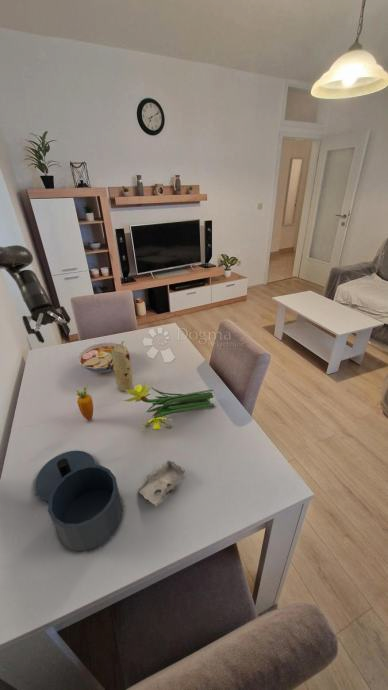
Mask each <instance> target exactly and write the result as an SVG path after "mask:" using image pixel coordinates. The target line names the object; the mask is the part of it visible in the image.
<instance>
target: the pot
mask: <svg viewBox="0 0 388 690" xmlns="http://www.w3.org/2000/svg"><path fill="white" fill-rule="evenodd" d="M47 502H48V501H47ZM47 512H48V515H49V517H50V519H51V521H52V523H53V525H54V528H55V530H56V533H57V534H58V536H59V539H60V540H61V542H62V544H63V545H64V546H65V547H66V548H68V549H70V550H72V551H74V552H75V551H76V552H85V551H90V550H94V549H96V548H98V547H99V546H101V545H103V544H104V543H106V542H107V541H108V540H109V539H110V538H111V537H112V536H113V535H114V533H115V532H116V530H117V528H118V527H119V524H120V522H121V519H122V513H123V506H122V500H121V495H120V492H119V487H118V482H117V478H116V476H115V474H114V473H113V472H112V471H111V469H110V468H107V467H105V466H103V465H100V464H96V465H87V466H83V467H80V468H77V469H75V470H73V471H72V472H70V473H68V474H67V475H65V476H64V477H63V478H62V479H61V480H60V481H59V482H58V483H57V484H56V485H55V487H54V489H53V491H52V493H51V495H50V497H49V502H48V503H47Z"/></svg>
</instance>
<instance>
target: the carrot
mask: <svg viewBox="0 0 388 690" xmlns="http://www.w3.org/2000/svg"><path fill="white" fill-rule="evenodd" d="M82 387H83V391H81V392H80V391H79V390H78V389H76V390H75V392H76V394H75V395H77V396H78V397H77V400H76V403H77V406H78V409H79V412H80V414H81V416H83V418H85V420H87V421H88V422H90V421H92V419H93V416H94V402H93V397H92V395H90V394H88V393H87V386H85V385H84V386H82Z"/></svg>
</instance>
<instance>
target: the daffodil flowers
mask: <svg viewBox="0 0 388 690" xmlns="http://www.w3.org/2000/svg"><path fill="white" fill-rule="evenodd" d="M156 384H157V382H155V383H153V385H152V386H150V387H149V388H148V389H147V384H146V382H144V383H143V384H142V385H141V384H137V385H136V386H134V388H133V389H132V390H128V389H125V390H126V391H125V392H126V393H127V394H129V395H131V396H132V397H131V398H128V399H125V400H124V402H135V403H137V402H140V401H142V402H144V403H149V404H151V406H150V407H148V409H147V410H146V411H145V413H152V412H154V414H153V415H152V416H151V418H150V420H148V421H147V422H145V423H143V424H141V425H140V426H139V427H138V428H139V429H140V428H141V427H143V426H145V425H146V426H150V425H151V424H152V425H153V426H152V430H153V431H160V430H161V424H163V425H165V426H166V427H169V428H170V425H169V424H168V423H167V422H165V421H164V420H166V421H167V420H168V421H171V418H167V417H166V416H169V415H170V416H171V415H175V414H181V413H187V412H192V411H199V410H204V409H210V408H214V406H215V404H214V403H211V402H210V400H211V399H214V394H213V392H214V389H207V390H200V391H195V392H190V393H189V392H188V393H169V392H163V391H160V390H157V389H155V388H154V386H155V385H156ZM151 389H152V390H153V391H155V392H157V393H158V394H159V396H157V395H156V396H154V397H155V398H152V399H150V398H148V397H149V396H150V395H151V393H148V392H149V391H151ZM160 395H161V396H160ZM172 421H174V422H175V420H173V419H172Z"/></svg>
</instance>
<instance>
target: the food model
mask: <svg viewBox="0 0 388 690" xmlns="http://www.w3.org/2000/svg"><path fill="white" fill-rule="evenodd" d="M120 344H121V343H119V344H117V345H115V346H114V351H112V359H113V366H114V370H113V372H114V377H115V381H116V386H117V388H118V389H119V390H120V391H122V392H127V391H126V390H125V389H128V390H133V386H134V377H133V368H132V362H131V358H130V352H129V349H128V348H127V347H126V345H124V344H123V345H120Z"/></svg>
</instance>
